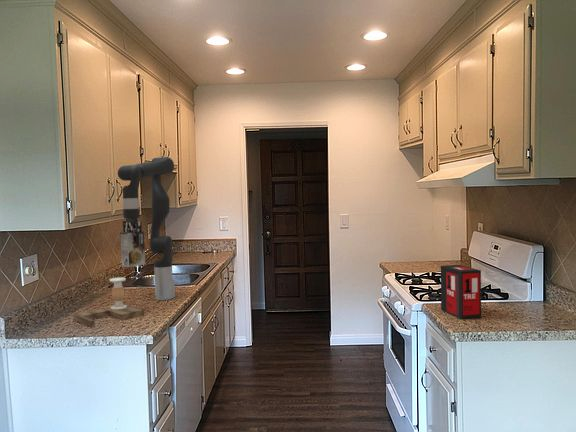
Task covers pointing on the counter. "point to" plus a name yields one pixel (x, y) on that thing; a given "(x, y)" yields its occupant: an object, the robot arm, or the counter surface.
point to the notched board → (107, 314)
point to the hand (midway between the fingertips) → (132, 242)
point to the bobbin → (118, 293)
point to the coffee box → (132, 249)
